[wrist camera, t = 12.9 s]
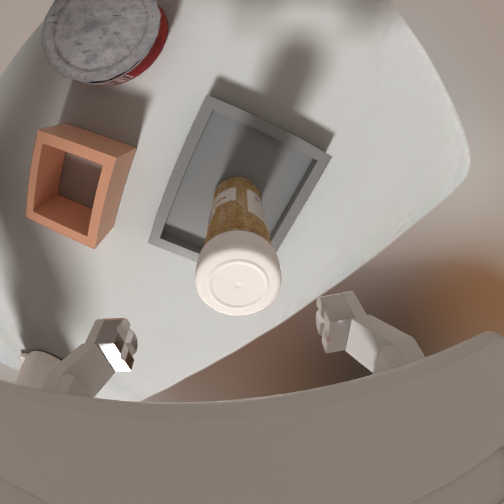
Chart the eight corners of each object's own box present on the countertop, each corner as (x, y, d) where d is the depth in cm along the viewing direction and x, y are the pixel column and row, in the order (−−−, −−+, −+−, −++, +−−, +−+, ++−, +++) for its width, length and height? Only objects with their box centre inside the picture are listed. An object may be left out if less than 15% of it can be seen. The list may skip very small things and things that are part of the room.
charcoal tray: (255, 273, 31) (256, 284, 29) (152, 233, 28) (147, 242, 26) (325, 152, 25) (332, 156, 23) (209, 96, 21) (207, 95, 20)
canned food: (150, 8, 19) (174, -45, 11) (167, 79, 23) (196, 37, 15) (51, 36, 15) (37, -14, 7) (61, 114, 19) (38, 82, 11)
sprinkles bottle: (211, 177, 24) (187, 248, 13) (261, 175, 25) (284, 244, 13) (214, 222, 27) (199, 320, 15) (261, 220, 27) (281, 316, 15)
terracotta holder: (113, 226, 27) (94, 249, 23) (50, 199, 25) (25, 216, 20) (136, 147, 23) (116, 157, 19) (66, 123, 21) (37, 130, 17)
